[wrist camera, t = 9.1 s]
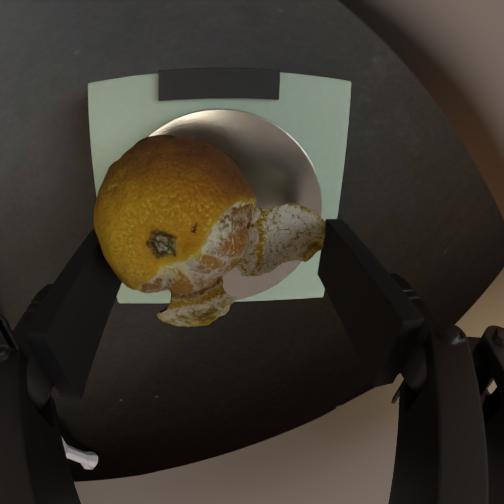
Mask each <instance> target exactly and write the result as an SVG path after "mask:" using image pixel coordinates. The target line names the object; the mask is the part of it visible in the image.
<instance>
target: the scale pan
mask: <svg viewBox="0 0 504 504" xmlns="http://www.w3.org/2000/svg"><path fill="white" fill-rule="evenodd" d="M156 135H172V136H176V137H189V138H191V139H194V140H200V141H203V142H206V143H210V144H214V145H217V147H218V148H219V150H220V151H222V152H224V153H226V154H227V155H229V156H230V157H231V158H232V159H233V160H236V162H237V164H238V167H239V168H240V170H241V172H242V173H243V174H244V176H245V178H246V179H247V180H248V182H249V183H250V184H251V188H252V191H253V192H254V194H255V196H256V197H257V199H256V200H257V202H256V207H258V208H262V209H268V210H270V209H274V208H276V207H277V206H281V205H286V204H287V203H288V202H289V203H295V204H299V205H302V206H304V207H306V208H308V209H311V210H313V211H314V212H316V213H317V214H318V215H319V216H321V211H322V198H321V189H320V184H319V180H318V176H317V174H316V171H315V169H314V166H313V164H312V162H311V161H310V159H309V157H308V155H307V154H306V152H305V151H304V150H303V148H302V147H301V146H300V144H299V143H298V142H297V141H296V140H295V139H294V138H293V137H292V136H291V135H290V134H289V133H287V132H286V131H285V130H283V129H282V128H281V127H279V126H278V125H276V124H275V123H273V122H271V121H269V120H267V119H265V118H263V117H261V116H258V115H255V114H252V113H249V112H246V111H241V110H236V109H225V108H214V109H203V110H198V111H194V112H190V113H187V114H184V115H181V116H179V117H176V118H174V119H172V120H170V121H168V122H167V123H165V124H163V125H161V126H160V127H158V128H157V129H156V130H154V131H153V132H152V133H150V134H149V135H148V136H147V137H150V136H156ZM301 262H302V261H298V260H295V261H287V262H285V263H282V264H280V265H279V266H278V267H276V268H275V269H274V270H273V271H271V272H270V273H264V274H262V275H260V276H258V277H257V276H250V277H247V276H241V272H240V270H239V269H238V268H237V267H234V268H232V269H231V271H229V272H228V273H227V274H226V275H223V276H222V278H223V288H224V290H225V292H226V293H227V294H228V295H231V296H233V297H236V299H234V298H233V300H239V299H244V298H247V297H251V296H254V295H257V294H259V293H261V292H264V291H266V290H268V289H270V288H271V287H273V286H275V285H277V284H278V283H279V282H281V281H282V280H283V279H285V278H286V277H287V276H288V275H289V274H291V273H292V272H293V271H294V270H295V269H296V268H297V267H298V265H299V264H300V263H301Z"/></svg>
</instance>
